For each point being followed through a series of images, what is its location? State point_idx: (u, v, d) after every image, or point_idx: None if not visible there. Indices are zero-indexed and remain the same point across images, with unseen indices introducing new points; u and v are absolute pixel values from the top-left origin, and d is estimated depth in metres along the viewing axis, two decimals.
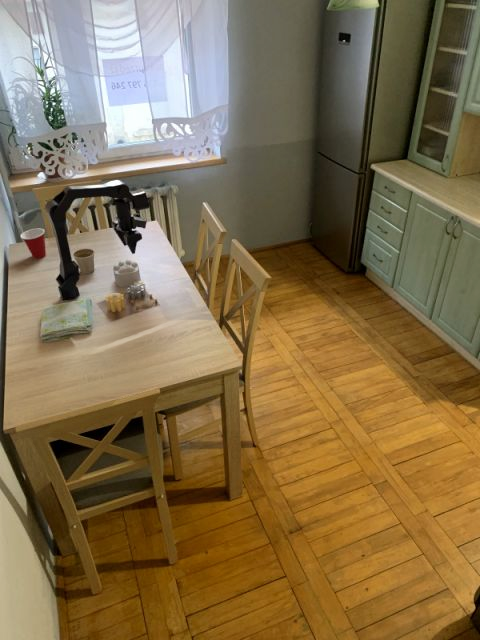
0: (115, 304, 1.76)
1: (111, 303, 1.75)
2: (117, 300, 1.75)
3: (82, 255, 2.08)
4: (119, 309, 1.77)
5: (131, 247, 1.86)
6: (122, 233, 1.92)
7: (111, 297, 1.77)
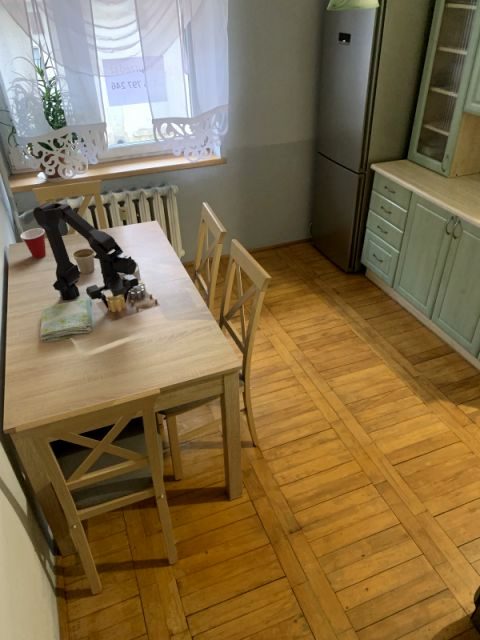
0: (115, 304, 1.76)
1: (111, 303, 1.75)
2: (117, 300, 1.75)
3: (82, 255, 2.08)
4: (119, 309, 1.77)
5: (102, 300, 1.76)
6: None
7: (111, 297, 1.77)
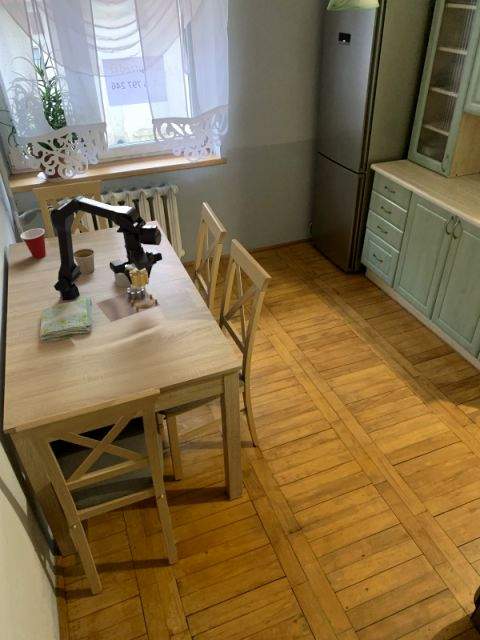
0: (139, 280, 1.73)
1: (135, 278, 1.72)
2: (141, 275, 1.72)
3: (82, 255, 2.08)
4: (143, 284, 1.74)
5: (125, 275, 1.73)
6: None
7: (134, 272, 1.73)
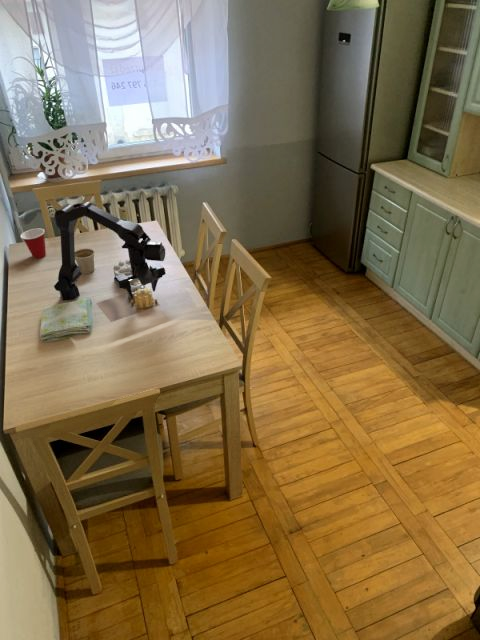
0: (143, 300, 1.78)
1: (139, 298, 1.77)
2: (145, 295, 1.77)
3: (82, 255, 2.08)
4: (147, 304, 1.79)
5: (126, 290, 1.76)
6: None
7: (139, 293, 1.79)
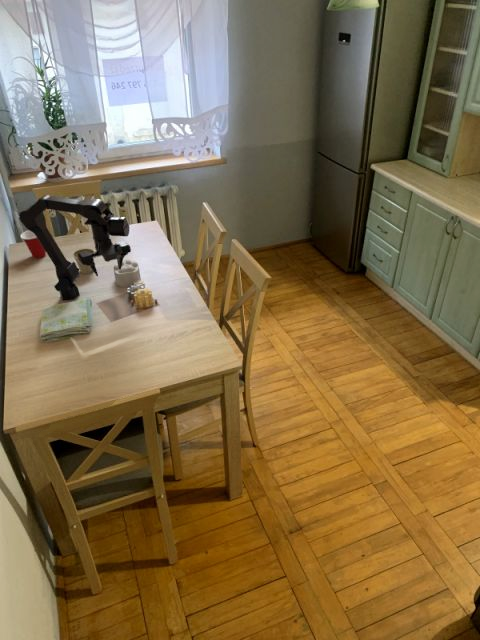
0: (143, 300, 1.78)
1: (139, 298, 1.77)
2: (145, 295, 1.77)
3: None
4: (147, 304, 1.79)
5: None
6: (118, 256, 1.78)
7: (139, 293, 1.79)
